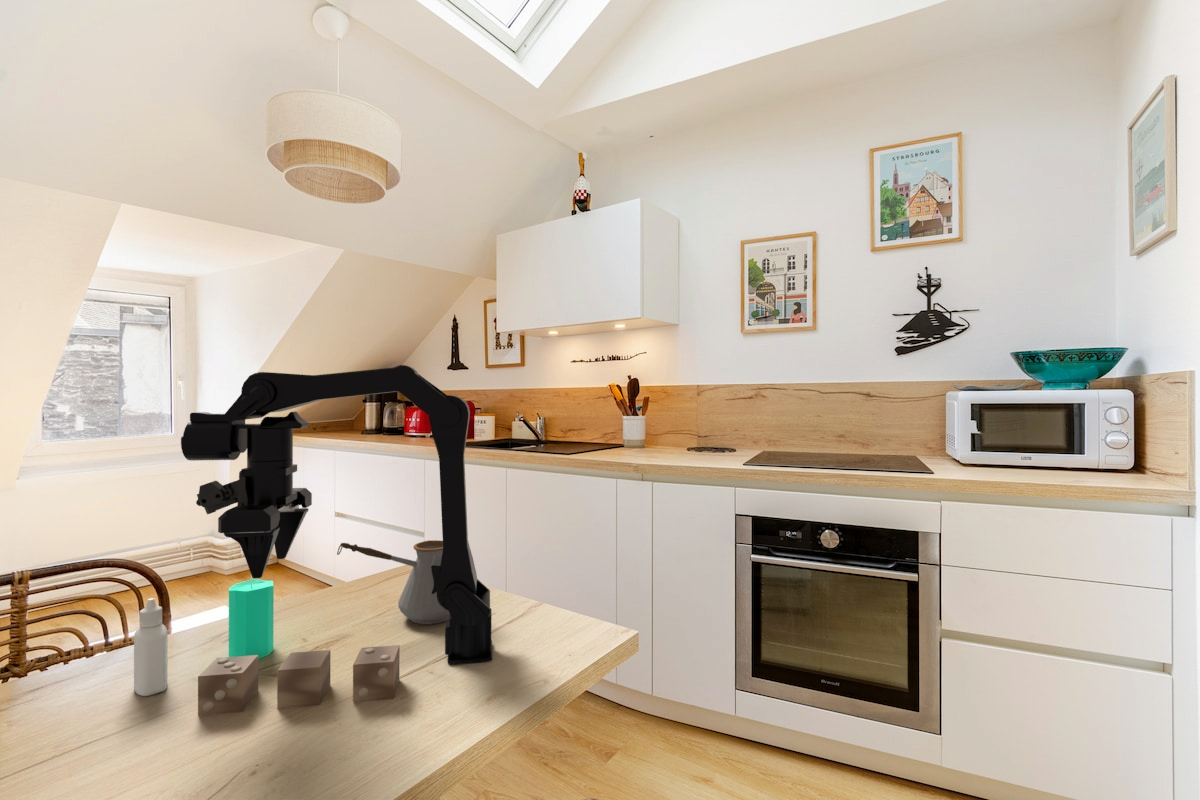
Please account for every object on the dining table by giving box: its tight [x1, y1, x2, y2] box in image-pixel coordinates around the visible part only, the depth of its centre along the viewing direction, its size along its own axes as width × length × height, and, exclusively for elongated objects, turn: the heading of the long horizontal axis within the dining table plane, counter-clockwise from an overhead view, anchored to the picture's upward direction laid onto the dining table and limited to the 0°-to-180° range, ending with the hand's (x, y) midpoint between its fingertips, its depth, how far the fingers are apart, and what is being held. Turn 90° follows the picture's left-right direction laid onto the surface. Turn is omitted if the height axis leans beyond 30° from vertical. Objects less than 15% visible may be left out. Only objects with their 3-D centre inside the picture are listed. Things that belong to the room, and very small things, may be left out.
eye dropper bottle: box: [133, 597, 169, 697], centre depth 77 cm, size 4×6×12 cm
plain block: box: [276, 649, 332, 710], centre depth 76 cm, size 5×5×5 cm
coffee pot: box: [336, 539, 450, 625], centre depth 101 cm, size 21×12×15 cm, turn 119°
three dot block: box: [197, 655, 259, 717], centre depth 74 cm, size 5×5×5 cm
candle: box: [228, 575, 275, 660], centre depth 88 cm, size 6×6×12 cm
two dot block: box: [352, 644, 401, 703], centre depth 77 cm, size 5×5×5 cm
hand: (269, 567), depth 83 cm, fingers open, 9 cm apart
